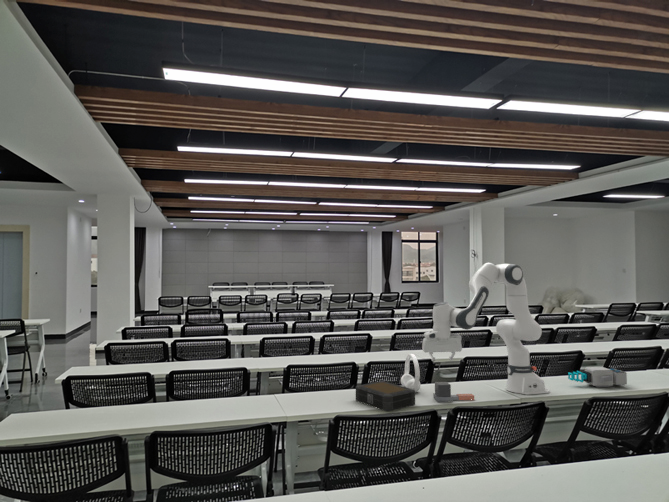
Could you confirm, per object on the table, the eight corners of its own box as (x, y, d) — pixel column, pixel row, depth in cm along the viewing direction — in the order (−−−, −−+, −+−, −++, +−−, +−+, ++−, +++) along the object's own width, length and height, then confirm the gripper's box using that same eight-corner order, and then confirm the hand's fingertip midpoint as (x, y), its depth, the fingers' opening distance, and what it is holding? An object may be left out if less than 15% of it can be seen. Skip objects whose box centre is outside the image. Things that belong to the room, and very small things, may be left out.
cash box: (353, 401, 237) (353, 385, 237) (382, 394, 249) (382, 380, 249) (386, 413, 217) (386, 396, 217) (416, 405, 229) (416, 389, 229)
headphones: (423, 394, 248) (422, 356, 249) (409, 394, 247) (408, 357, 248) (411, 385, 268) (411, 350, 269) (398, 385, 267) (398, 351, 268)
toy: (562, 365, 273) (611, 365, 274) (562, 382, 272) (612, 382, 273) (577, 371, 256) (630, 371, 257) (578, 390, 256) (630, 389, 257)
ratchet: (470, 397, 242) (470, 382, 243) (475, 401, 235) (475, 386, 235) (433, 398, 241) (433, 383, 241) (437, 402, 233) (437, 387, 234)
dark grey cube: (446, 393, 241) (446, 381, 241) (450, 396, 235) (450, 384, 235) (434, 393, 241) (434, 381, 241) (438, 396, 234) (438, 384, 234)
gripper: (459, 332, 243) (459, 358, 242) (421, 333, 241) (421, 359, 241) (463, 334, 236) (464, 361, 236) (424, 335, 235) (424, 362, 235)
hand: (442, 360), depth 238 cm, fingers open, 8 cm apart
